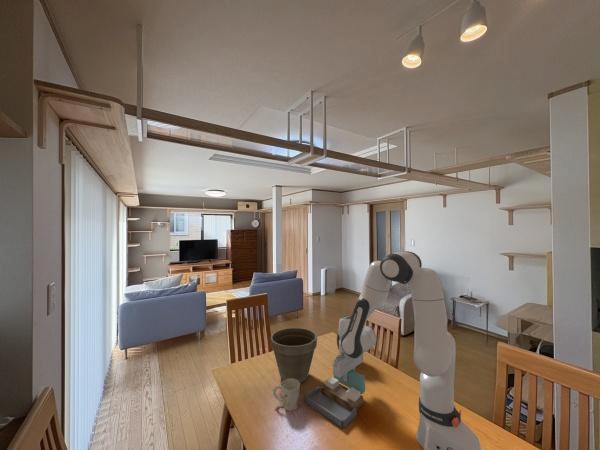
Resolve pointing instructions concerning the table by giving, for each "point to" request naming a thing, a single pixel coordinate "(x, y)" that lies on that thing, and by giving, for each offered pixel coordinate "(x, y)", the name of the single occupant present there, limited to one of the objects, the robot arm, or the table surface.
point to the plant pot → (294, 352)
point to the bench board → (341, 397)
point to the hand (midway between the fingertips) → (348, 378)
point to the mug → (289, 393)
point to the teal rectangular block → (354, 381)
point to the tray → (329, 408)
